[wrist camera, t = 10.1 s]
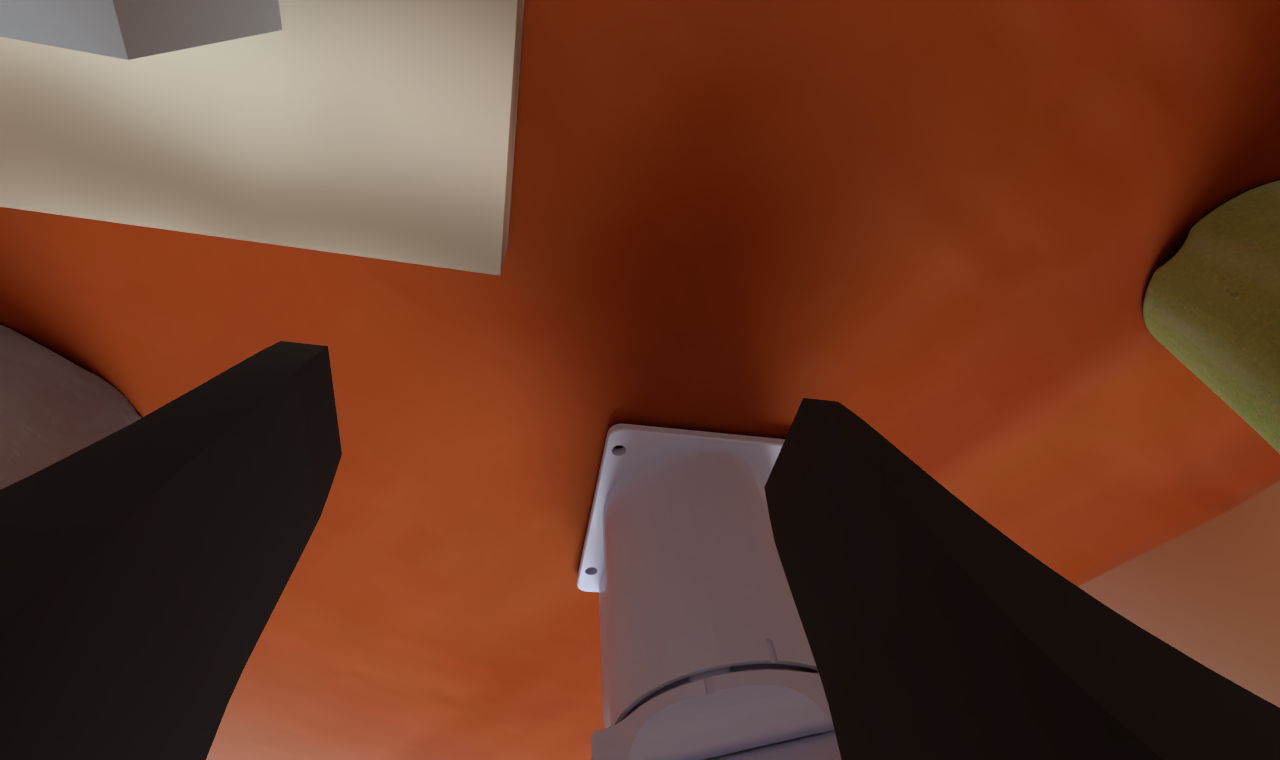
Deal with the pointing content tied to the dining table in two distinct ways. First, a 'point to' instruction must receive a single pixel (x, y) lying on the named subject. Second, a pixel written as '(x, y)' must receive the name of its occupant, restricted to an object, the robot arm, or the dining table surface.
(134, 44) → the grey block
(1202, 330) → the plant pot
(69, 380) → the pillar candle
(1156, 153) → the dining table surface
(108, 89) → the birch base
